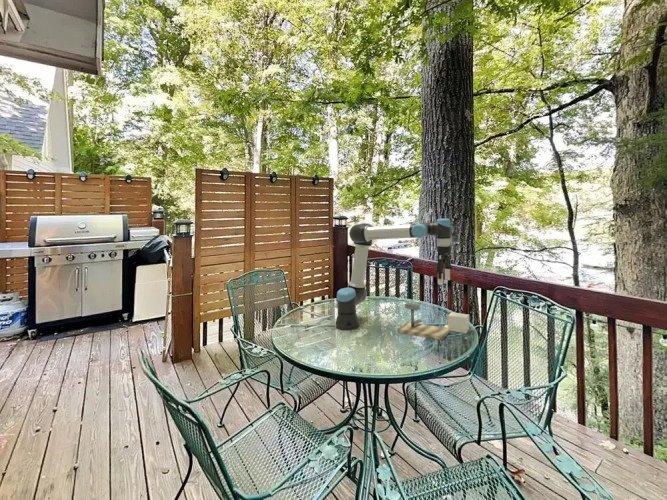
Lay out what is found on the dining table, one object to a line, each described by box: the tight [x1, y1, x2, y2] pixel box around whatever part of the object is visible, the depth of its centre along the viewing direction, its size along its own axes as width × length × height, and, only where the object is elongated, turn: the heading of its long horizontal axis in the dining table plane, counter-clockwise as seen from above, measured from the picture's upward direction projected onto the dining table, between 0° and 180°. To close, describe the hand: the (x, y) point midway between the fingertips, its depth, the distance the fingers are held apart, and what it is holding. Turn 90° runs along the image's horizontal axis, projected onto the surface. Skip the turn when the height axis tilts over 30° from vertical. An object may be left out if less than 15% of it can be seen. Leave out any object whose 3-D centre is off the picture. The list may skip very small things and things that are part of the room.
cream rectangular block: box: [443, 311, 470, 334], centre depth 198 cm, size 13×7×9 cm, turn 55°
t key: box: [404, 302, 423, 327], centre depth 201 cm, size 10×8×13 cm
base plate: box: [397, 321, 451, 341], centre depth 197 cm, size 26×14×2 cm, turn 55°
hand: (444, 282), depth 195 cm, fingers open, 13 cm apart
